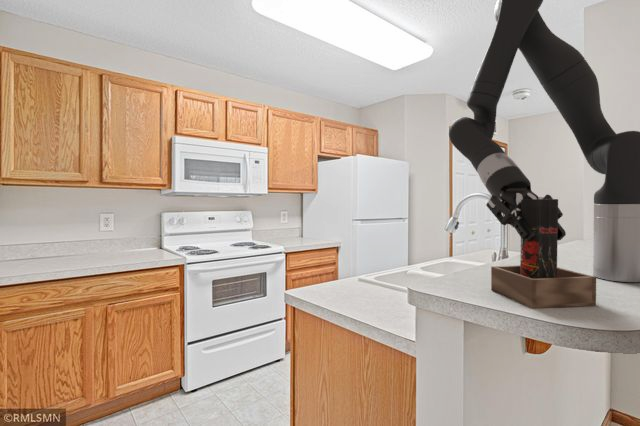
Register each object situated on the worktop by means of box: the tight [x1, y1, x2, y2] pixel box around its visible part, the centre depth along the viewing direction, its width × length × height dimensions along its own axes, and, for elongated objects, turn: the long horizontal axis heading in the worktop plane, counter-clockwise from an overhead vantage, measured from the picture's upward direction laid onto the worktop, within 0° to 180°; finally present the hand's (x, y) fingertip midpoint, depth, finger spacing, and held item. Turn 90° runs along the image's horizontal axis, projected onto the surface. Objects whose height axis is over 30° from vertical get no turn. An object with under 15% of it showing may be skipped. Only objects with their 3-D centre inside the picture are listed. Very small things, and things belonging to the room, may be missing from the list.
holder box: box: [490, 265, 597, 309], centre depth 66 cm, size 12×12×5 cm
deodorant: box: [519, 198, 559, 279], centre depth 66 cm, size 6×6×15 cm
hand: (546, 238), depth 64 cm, fingers closed on deodorant, 6 cm apart
